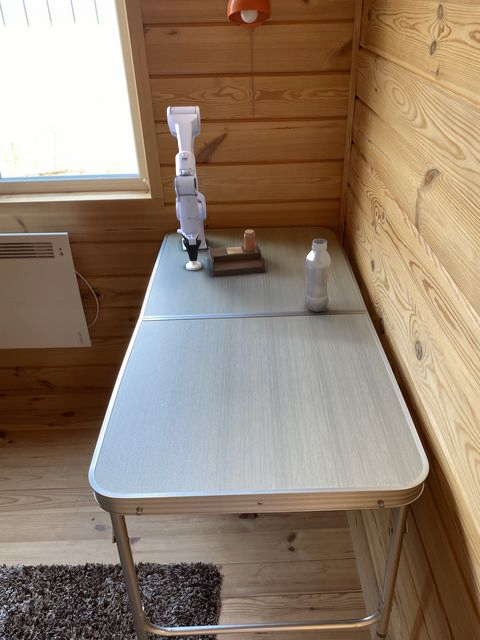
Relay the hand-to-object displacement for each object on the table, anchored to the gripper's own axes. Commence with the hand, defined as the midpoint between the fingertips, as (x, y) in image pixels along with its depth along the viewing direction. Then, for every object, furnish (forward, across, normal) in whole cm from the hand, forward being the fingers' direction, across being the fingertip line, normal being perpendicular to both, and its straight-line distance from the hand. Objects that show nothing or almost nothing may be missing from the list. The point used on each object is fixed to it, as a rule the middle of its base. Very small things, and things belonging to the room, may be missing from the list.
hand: (192, 257), depth 164 cm
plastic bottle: (+4, +33, +32) cm, 46 cm away
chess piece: (+4, 0, 0) cm, 4 cm away
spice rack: (+3, +2, +14) cm, 14 cm away
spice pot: (-1, -1, +18) cm, 19 cm away
